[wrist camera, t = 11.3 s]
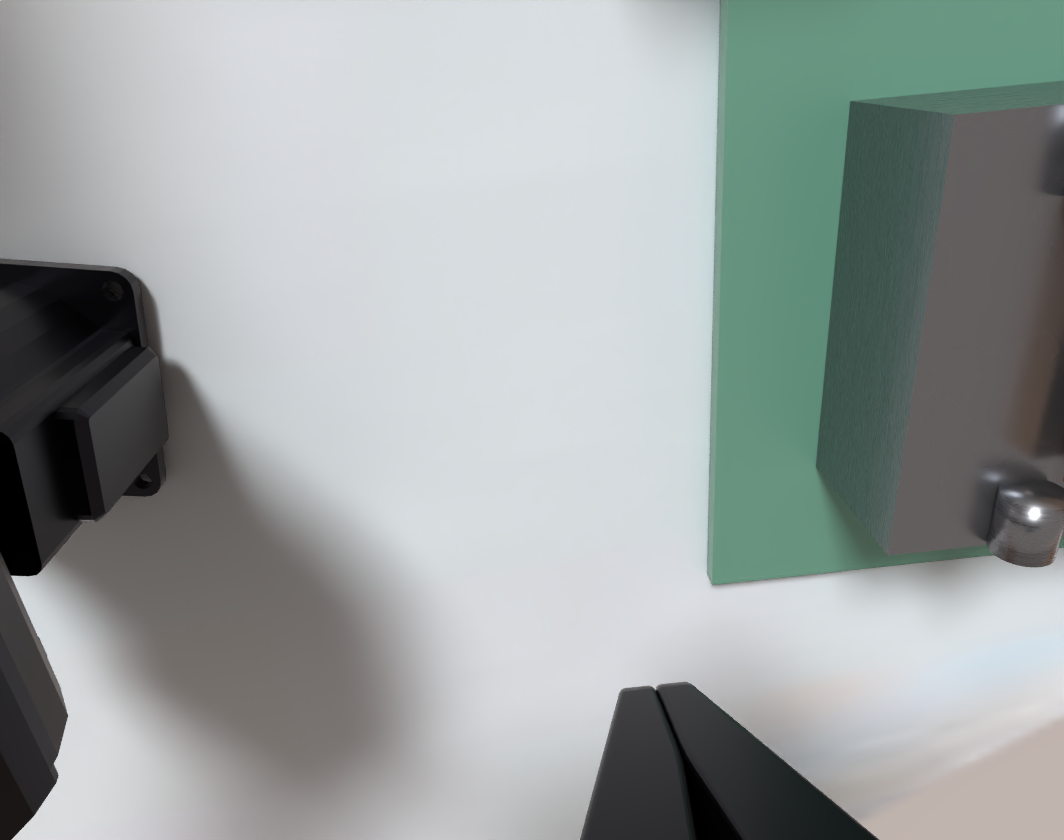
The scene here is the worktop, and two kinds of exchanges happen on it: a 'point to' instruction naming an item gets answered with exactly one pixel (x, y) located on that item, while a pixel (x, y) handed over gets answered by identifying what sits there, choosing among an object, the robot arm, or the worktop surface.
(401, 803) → the worktop surface
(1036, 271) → the grey open box
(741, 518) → the board
